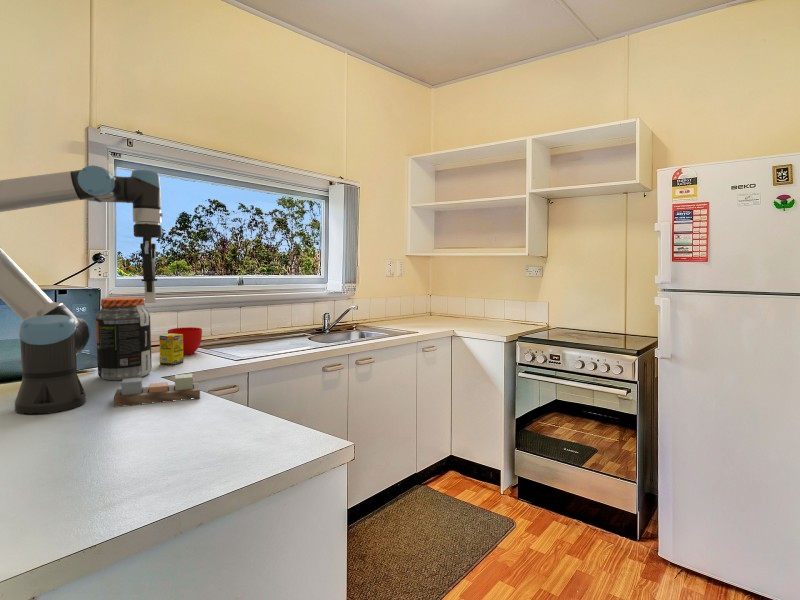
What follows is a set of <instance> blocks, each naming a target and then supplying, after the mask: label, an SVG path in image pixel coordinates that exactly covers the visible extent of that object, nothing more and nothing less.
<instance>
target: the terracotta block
mask: <svg viewBox="0 0 800 600" xmlns="http://www.w3.org/2000/svg"><path fill="white" fill-rule="evenodd" d="M168 383H169V382H168V381H165V382H164V381H163V382H153V383H152V382H151V383H149V384H148V387H149V393H153V392H164V391H168V385H169V384H168Z"/></svg>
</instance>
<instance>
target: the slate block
mask: <svg viewBox="0 0 800 600" xmlns="http://www.w3.org/2000/svg"><path fill="white" fill-rule="evenodd" d="M120 384H121V387H120V389H122V395H130V394H141V393H142V387H143V378H142V377H139V378H130V379H123V380H121V383H120Z"/></svg>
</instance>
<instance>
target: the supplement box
mask: <svg viewBox="0 0 800 600" xmlns="http://www.w3.org/2000/svg"><path fill="white" fill-rule="evenodd" d="M158 337H159V339H158V340H159V364H160V365H161V366H163V365H164V366H175V365H179V364H182V363H184V355H183V334H168V333H166V334H162V335H159V336H158Z"/></svg>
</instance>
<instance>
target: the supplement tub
mask: <svg viewBox="0 0 800 600" xmlns="http://www.w3.org/2000/svg"><path fill="white" fill-rule="evenodd" d="M100 300H101V301H100V306H101V308H100V309H99V311H98V312H97V313H96V316H95V331H96V332H95V333H96V357H97V376H98V377H99V378H100V379H102V380H108V381H118V380H119V381H122V380H123V379H130V378H142V377H144V376H146V375H149V374H150V373H151V371H152V367H153V366H152V364H153V363H152V362H153V361H152V335H151V334H152V333H151V330H152V329H151V315H150V312H149V310H148V309H147V308H146V306H145V304H146V303H145V297H111V298H109V297H108V298H101V299H100Z"/></svg>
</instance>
